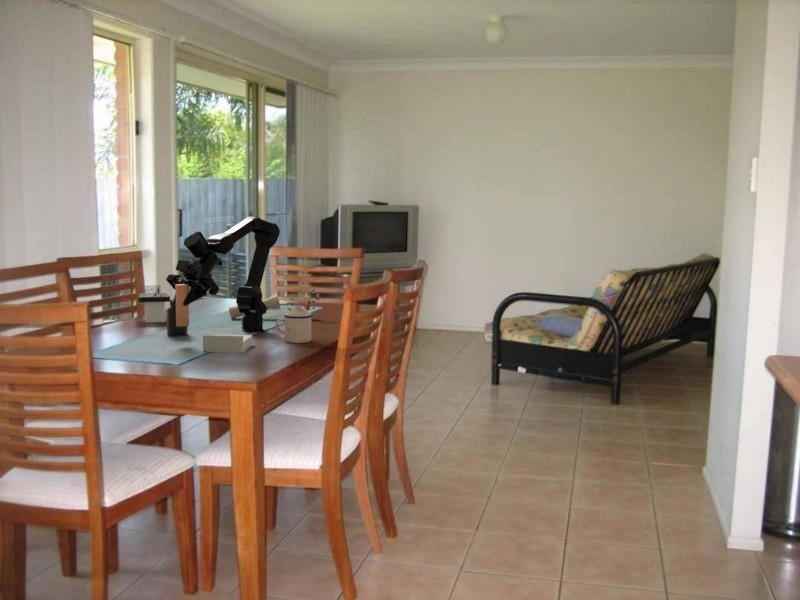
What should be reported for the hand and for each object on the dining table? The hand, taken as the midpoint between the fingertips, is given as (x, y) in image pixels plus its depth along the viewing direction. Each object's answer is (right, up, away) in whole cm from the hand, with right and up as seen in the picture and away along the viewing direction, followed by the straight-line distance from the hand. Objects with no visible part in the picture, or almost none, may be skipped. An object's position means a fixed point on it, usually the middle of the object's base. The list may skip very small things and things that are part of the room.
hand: (179, 304), depth 255 cm
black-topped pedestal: (-22, -7, +49) cm, 55 cm away
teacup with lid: (+35, -12, +12) cm, 39 cm away
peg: (+1, -7, +2) cm, 7 cm away
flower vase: (+21, -6, +58) cm, 62 cm away
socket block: (+16, -14, -1) cm, 21 cm away
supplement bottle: (-6, -11, +21) cm, 24 cm away
